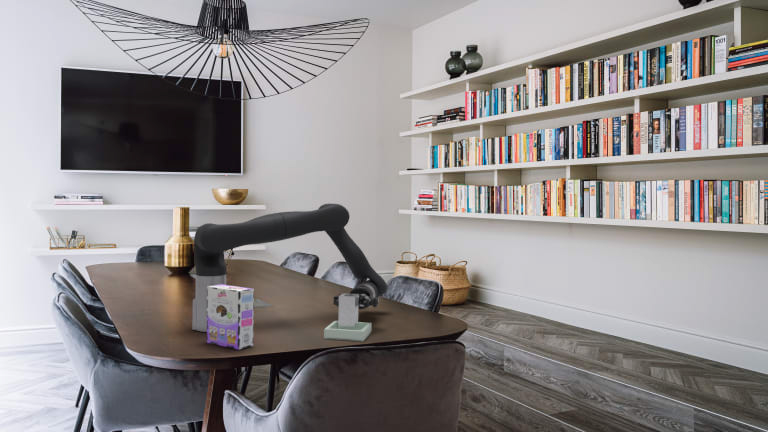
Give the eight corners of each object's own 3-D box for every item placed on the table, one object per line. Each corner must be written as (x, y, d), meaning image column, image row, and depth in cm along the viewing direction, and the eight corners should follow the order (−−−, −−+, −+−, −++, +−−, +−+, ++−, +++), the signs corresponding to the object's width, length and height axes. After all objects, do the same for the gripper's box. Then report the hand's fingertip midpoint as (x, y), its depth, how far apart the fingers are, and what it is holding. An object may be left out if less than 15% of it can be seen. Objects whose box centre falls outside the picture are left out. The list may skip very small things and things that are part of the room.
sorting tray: (324, 338, 171) (324, 329, 171) (334, 330, 183) (334, 320, 183) (363, 341, 169) (363, 331, 169) (371, 332, 181) (371, 323, 181)
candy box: (254, 346, 161) (255, 288, 161) (238, 350, 156) (239, 290, 156) (221, 338, 169) (222, 283, 168) (205, 342, 164) (206, 285, 164)
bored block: (338, 335, 174) (338, 295, 174) (342, 331, 179) (343, 293, 179) (354, 336, 173) (355, 296, 173) (357, 332, 178) (358, 293, 178)
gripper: (342, 284, 196) (329, 291, 180) (383, 285, 193) (373, 293, 177) (342, 305, 196) (329, 315, 180) (383, 308, 193) (373, 317, 177)
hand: (351, 304), depth 178 cm, fingers open, 8 cm apart
